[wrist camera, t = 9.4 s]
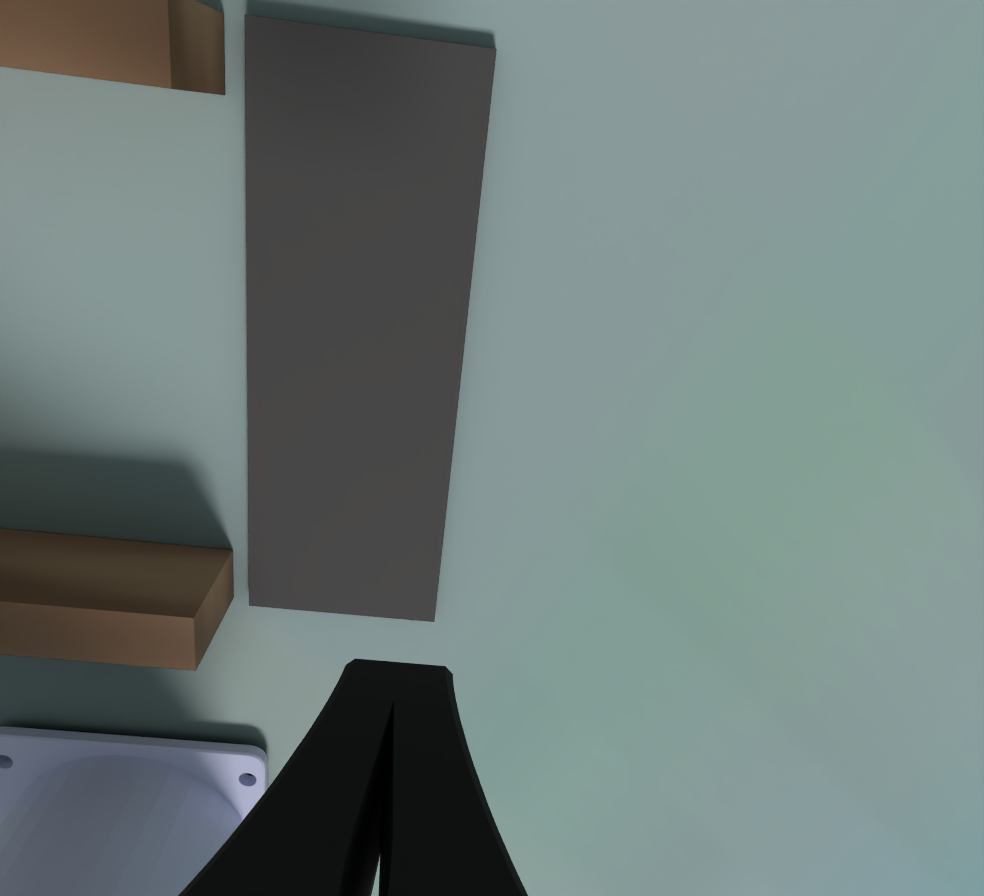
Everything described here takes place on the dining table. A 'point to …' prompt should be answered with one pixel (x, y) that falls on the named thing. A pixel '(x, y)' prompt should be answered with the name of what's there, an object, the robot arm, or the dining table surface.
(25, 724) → the dining table surface
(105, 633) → the channel
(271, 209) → the pad
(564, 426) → the dining table surface
